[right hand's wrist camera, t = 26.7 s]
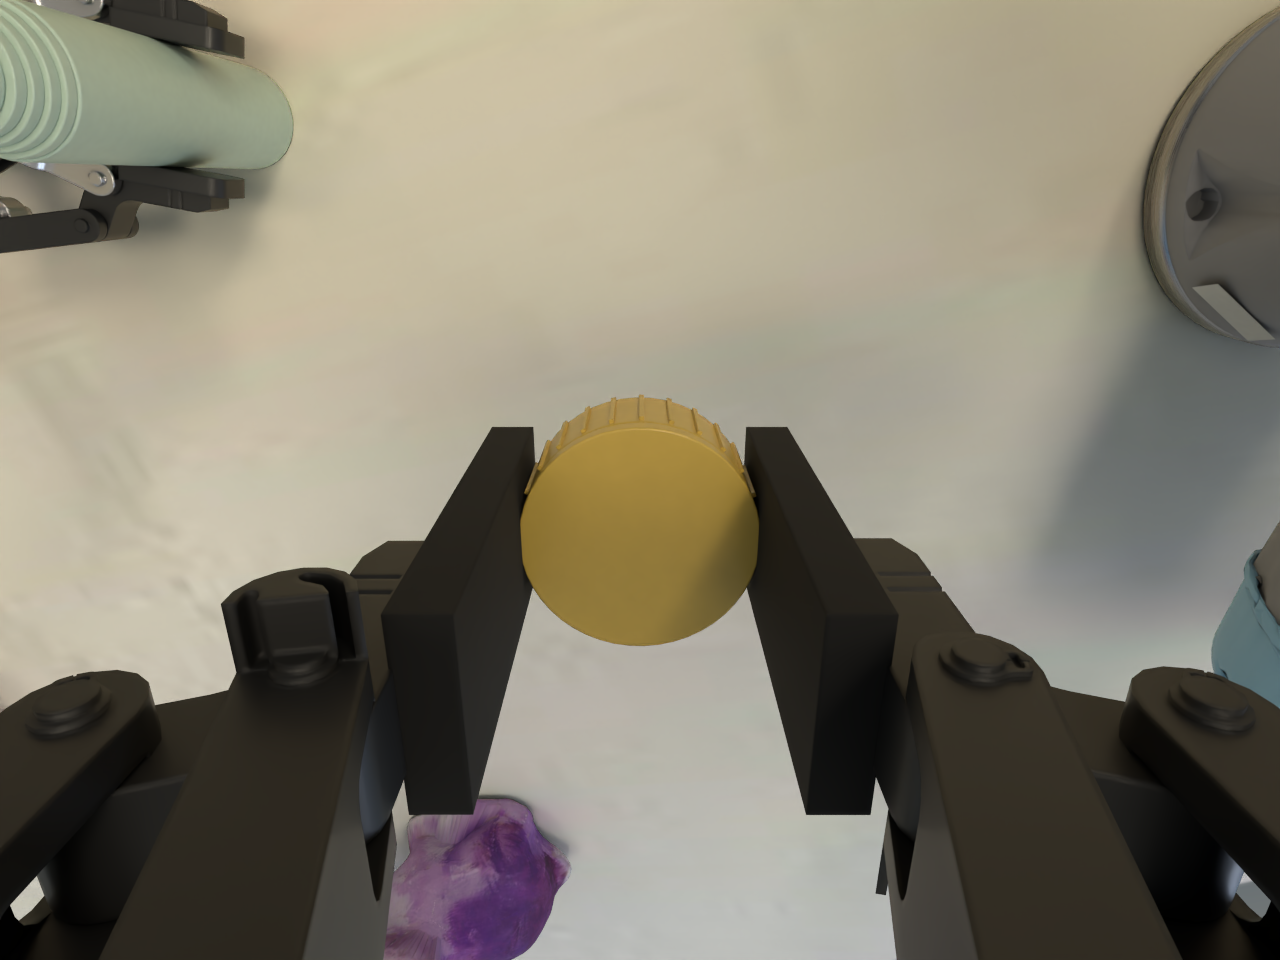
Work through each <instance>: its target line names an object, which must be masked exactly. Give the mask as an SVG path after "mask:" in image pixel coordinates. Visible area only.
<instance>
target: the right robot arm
mask: <svg viewBox="0 0 1280 960" xmlns="http://www.w3.org/2000/svg"><path fill="white" fill-rule="evenodd" d="M1143 224H1144V235H1145V242H1146V247H1147V252H1148V256H1149V259H1150V262H1151V265H1152V269H1153V271H1154V273H1155V275H1156V277H1157V280H1158V282H1159V283H1160V285H1161V287H1162V288H1163V290H1164V292H1165V293H1166V295H1167V296H1168V297H1169V298H1170V300H1171V301H1172V302H1173V303H1174V305H1175V306H1176V307H1177V308H1178V309H1180V310H1181V311H1182V312H1183V313H1184V314H1185V315H1186V316H1187V317H1189V318H1190V319H1191V320H1193V321H1194V322H1195V323H1197V324H1199V325H1201V326H1202V327H1204V328H1206V329H1208V330H1210V331H1213V332H1215V333H1217V334H1220V335H1223V336H1226V337H1230V338H1233V339H1237V340H1241V341H1245V342H1248V343H1252V344H1256V345H1261V346H1267V347H1275V348H1280V7H1278V8H1276V9H1275V10H1273V11H1271V12H1269V13H1268V14H1266V15H1264V16H1263V17H1261V18H1260V19H1259V20H1257V21H1256V22H1254V23H1253V24H1251V25H1250V26H1248V27H1247V28H1246V29H1245V30H1243V31H1242V32H1241V33H1240V34H1238V35H1237V36H1236V37H1235V38H1233V39H1232V40H1231V41H1230V42H1229V43H1228V44H1227V45H1226V46H1225V47H1224V48H1223V49H1221V50H1220V51H1219V52H1218V53H1217V54H1216V55H1215V56H1214V58H1213V59H1212V60H1211V61H1210V62H1209V63H1208V64H1207V65H1206V66H1205V67H1204V68H1203V70H1202V71H1201V72H1200V73H1199V75H1198V76H1197V77H1196V78H1195V80H1194V81H1193V82H1192V84H1191V85H1190V86H1189V88H1188V89H1187V91H1186V92H1185V94H1184V95H1183V97H1182V98H1181V100H1180V101H1179V103H1178V104H1177V106H1176V108H1175V110H1174V111H1173V113H1172V115H1171V117H1170V118H1169V120H1168V122H1167V124H1166V127H1165V129H1164V131H1163V133H1162V135H1161V137H1160V140H1159V142H1158V145H1157V148H1156V150H1155V153H1154V156H1153V159H1152V163H1151V166H1150V170H1149V174H1148V179H1147V184H1146V189H1145V198H1144V216H1143ZM534 465H535V452H534V433H533V427H492V428H491V430H490V432H489V433H488V435H487V437H486V438H485V440H484V442H483V443H482V445H481V447H480V449H479V450H478V452H477V454H476V455H475V457H474V459H473V460H472V462H471V464H470V465H469V467H468V469H467V470H466V472H465V474H464V475H463V477H462V479H461V480H460V482H459V484H458V485H457V487H456V489H455V490H454V492H453V494H452V496H451V497H450V499H449V501H448V502H447V504H446V506H445V507H444V509H443V511H442V512H441V514H440V516H439V517H438V519H437V521H436V522H435V524H434V526H433V527H432V529H431V531H430V532H429V534H428V536H427V537H426V539H425V541H387V542H386V543H384V544H382V545H381V546H379V547H378V548H376V549H374V550H373V551H371V552H370V553H368V554H366V555H365V556H363V557H362V558H361V560H360V561H359V562H358V564H357V565H356V567H355V568H354V569H353V571H352V572H351V573H350V575H349V574H348V573H346V572H344V571H339V570H335V569H331V568H299V569H293V570H287V571H281V572H277V573H274V574H271V575H268V576H265V577H262V578H259V579H256V580H253V581H251V582H249V583H248V584H246V585H244V586H242V587H240V588H239V589H237V590H235V591H233V592H232V593H231V594H230V595H229V596H228V597H227V598H226V599H225V600H224V601H223V602H222V603H221V607H222V611H223V616H224V620H225V624H226V629H227V633H228V638H229V642H230V646H231V651H232V655H233V659H234V664H235V668H236V672H237V673H236V675H235V677H234V679H233V681H232V683H231V685H230V688H229V690H227V691H223V692H219V693H215V694H211V695H206V696H201V697H196V698H191V699H185V700H180V701H175V702H170V703H165V704H159V705H155V704H154V700H153V697H152V693H151V690H150V686H149V682H147V681H146V680H145V679H144V678H142V677H141V676H140V675H139V674H137V673H132V672H126V671H120V670H112V671H100V672H87V673H81V674H77V676H74V677H73V675H72V676H69V677H66V678H62V679H59V680H57V681H55V682H53V683H52V684H50V685H48V686H45V687H43V688H41V689H38V690H36V691H34V692H31V693H30V694H28V695H26V696H25V697H23V698H22V699H20V700H19V701H17V702H15V703H14V704H12V705H11V706H9V707H8V708H6V709H5V710H3V711H2V712H1V713H0V960H383V958H384V950H385V941H386V932H387V924H388V915H389V907H390V898H391V889H392V881H393V872H394V863H395V855H396V846H397V842H396V835H395V829H394V822H393V816H392V808H393V806H394V803H395V801H396V798H397V796H398V793H399V791H400V788H401V786H402V783H403V780H404V783H405V790H406V797H407V804H408V811H409V815H473V814H474V810H475V806H476V802H477V798H478V795H479V791H480V787H481V783H482V779H483V775H484V772H485V768H486V764H487V760H488V756H489V753H490V749H491V745H492V741H493V737H494V733H495V730H496V726H497V722H498V718H499V714H500V711H501V707H502V703H503V699H504V695H505V691H506V688H507V684H508V680H509V676H510V672H511V669H512V665H513V661H514V657H515V653H516V649H517V646H518V642H519V638H520V634H521V630H522V626H523V623H524V619H525V615H526V611H527V607H528V604H529V600H530V596H531V592H532V588H533V587H532V585H531V583H530V581H529V579H528V577H527V575H526V572H525V569H524V566H523V559H522V544H521V527H520V518H521V514H522V510H523V507H524V503H525V500H526V498H527V494H524V492H525V490H526V487H527V484H528V481H529V479H530V476H531V473H532V471H533V468H534ZM744 465H745V466H746V469H747V472H748V474H749V477H750V480H751V483H752V485H753V488H754V491H755V493H756V497H753V499H754V502H755V505H756V508H757V511H758V516H759V535H758V551H757V564H756V568H755V571H754V573H753V576H752V578H751V580H750V582H749V584H748V586H747V590H748V594H749V598H750V602H751V605H752V609H753V613H754V617H755V621H756V625H757V628H758V632H759V636H760V640H761V644H762V648H763V651H764V655H765V659H766V663H767V667H768V670H769V674H770V678H771V682H772V686H773V690H774V693H775V697H776V701H777V705H778V709H779V712H780V716H781V720H782V724H783V728H784V732H785V735H786V739H787V743H788V747H789V751H790V755H791V758H792V762H793V766H794V770H795V774H796V777H797V781H798V785H799V789H800V793H801V797H802V800H803V804H804V808H805V812H806V815H870V814H871V807H872V800H873V793H874V786H875V779H876V778H877V781H878V783H879V786H880V788H881V791H882V793H883V796H884V798H885V801H886V803H887V806H888V808H889V809H888V816H887V822H886V829H885V835H884V842H883V848H882V855H881V861H880V868H879V874H878V881H877V888H876V894H882V895H886V891H887V886H888V888H889V896H890V905H891V913H892V922H893V931H894V939H895V948H896V956H897V960H1280V521H1279V523H1278V525H1277V526H1276V528H1275V530H1274V531H1273V533H1272V534H1271V536H1270V538H1269V539H1268V541H1267V542H1266V544H1265V546H1264V547H1263V549H1261V550H1255V551H1254V553H1253V554H1252V555H1251V556H1250V557H1249V559H1248V560H1247V562H1246V565H1245V568H1244V580H1243V582H1242V584H1241V586H1240V588H1239V590H1238V592H1237V594H1236V595H1235V597H1234V599H1233V601H1232V603H1231V605H1230V607H1229V609H1228V610H1227V612H1226V614H1225V616H1224V618H1223V620H1222V622H1221V624H1220V625H1219V627H1218V629H1217V631H1216V633H1215V636H1214V639H1213V644H1212V666H1213V670H1214V673H1210V672H1207V673H1205V672H1204V671H1203V670H1197V669H1192V668H1176V667H1164V666H1163V667H1157V668H1151V669H1145V670H1142V671H1141V672H1140V673H1138V674H1137V675H1136V676H1135V677H1133V678H1132V680H1131V684H1130V687H1129V691H1128V694H1127V698H1126V701H1125V702H1123V701H1118V700H1112V699H1107V698H1102V697H1097V696H1091V695H1086V694H1081V693H1076V692H1070V691H1066V690H1062V689H1058V688H1054V687H1051V686H1050V684H1049V682H1048V680H1047V678H1046V676H1045V674H1044V672H1043V671H1042V669H1041V668H1040V667H1039V666H1038V664H1037V663H1036V662H1035V661H1034V660H1033V658H1032V657H1030V656H1029V655H1027V654H1026V653H1024V652H1023V651H1021V650H1019V649H1018V648H1016V647H1015V646H1013V645H1011V644H1009V643H1006V642H1004V641H1001V640H998V639H996V638H993V637H991V636H987V635H982V634H977V633H975V632H974V630H973V629H972V628H971V626H970V625H969V624H968V622H967V621H966V620H965V618H964V617H963V615H962V614H961V613H960V611H959V610H958V609H957V607H956V606H955V605H954V603H953V602H952V601H951V599H950V598H949V597H948V595H947V594H946V592H942V587H941V586H940V584H939V583H938V582H937V580H936V579H935V578H934V576H931V572H930V571H929V570H928V568H927V567H926V565H925V564H924V563H923V561H922V560H921V559H920V557H919V556H918V555H917V554H916V553H914V552H913V551H911V550H910V549H908V548H906V547H905V546H903V545H901V544H900V543H898V542H897V541H895V540H893V539H892V538H853V537H852V535H851V533H850V532H849V530H848V528H847V527H846V525H845V523H844V522H843V520H842V518H841V517H840V515H839V513H838V512H837V510H836V508H835V507H834V505H833V503H832V501H831V500H830V498H829V496H828V495H827V493H826V491H825V490H824V488H823V486H822V485H821V483H820V481H819V480H818V478H817V476H816V475H815V473H814V471H813V470H812V468H811V466H810V465H809V463H808V461H807V459H806V458H805V456H804V454H803V453H802V451H801V449H800V448H799V446H798V444H797V443H796V441H795V439H794V438H793V436H792V434H791V433H790V431H789V429H788V428H787V427H746V442H745V461H744ZM1244 872H1245V873H1246V874H1247V875H1248V876H1249V877H1250V879H1251V880H1252V881H1253V882H1254V883H1255V884H1256V885H1257V886H1258V887H1259V888H1260V889H1261V890H1262V892H1263V893H1264V894H1265V895H1266V896H1267V897H1268V898H1269V899H1270V900H1271V903H1270V905H1269V907H1268V910H1267V912H1266V914H1265V916H1264V917H1263V918H1261V917H1259V916H1258V915H1257V914H1256V913H1255V912H1254V911H1253V910H1252V909H1250V908H1249V907H1248V906H1247V905H1246V903H1245V902H1244V901H1243V900H1242V899H1241V898H1240V897H1239V895H1238V894H1237V893H1236V891H1237V888H1238V886H1239V883H1240V881H1241V878H1242V876H1243V873H1244ZM36 876H37V877H38V880H39V883H40V885H41V888H42V890H43V893H44V897H43V898H42V899H41V900H40V902H39V903H38V904H37V905H36V906H35V907H34V908H33V910H32V911H30V912H29V913H28V914H27V915H25V916H24V917H23V918H22V919H20V920H19V921H18V920H17V919H16V918H15V916H14V914H13V912H12V909H11V907H10V904H11V903H12V902H13V901H14V900H15V899H16V898H17V897H18V896H19V895H20V893H21V892H22V891H23V890H24V889H25V888H26V887H27V886H28V885H29V884H30V882H31V881H32V880H33V879H34V878H35V877H36Z"/></svg>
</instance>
